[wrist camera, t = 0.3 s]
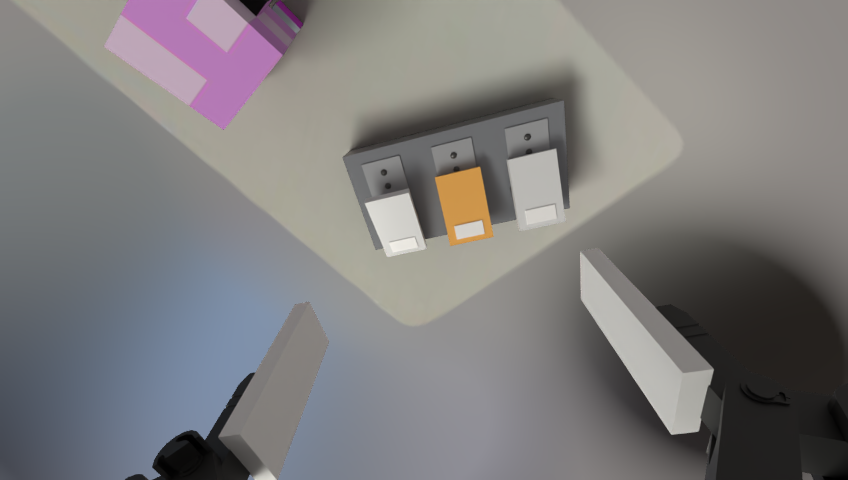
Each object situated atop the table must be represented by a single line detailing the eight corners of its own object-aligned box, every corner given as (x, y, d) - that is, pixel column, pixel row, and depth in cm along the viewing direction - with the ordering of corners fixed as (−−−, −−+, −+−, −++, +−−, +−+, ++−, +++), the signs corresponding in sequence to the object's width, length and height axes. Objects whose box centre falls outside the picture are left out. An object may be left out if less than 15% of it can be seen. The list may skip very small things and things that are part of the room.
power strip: (349, 150, 39) (340, 158, 35) (552, 98, 36) (566, 100, 32) (379, 237, 44) (374, 252, 40) (559, 198, 41) (571, 210, 37)
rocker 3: (506, 159, 35) (508, 160, 34) (553, 148, 35) (556, 148, 33) (518, 229, 37) (520, 231, 36) (562, 219, 37) (566, 221, 36)
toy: (239, -69, 29) (170, -80, 18) (313, 11, 34) (294, 41, 23) (181, 23, 33) (95, 61, 22) (255, 84, 38) (215, 140, 27)
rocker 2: (435, 176, 36) (434, 177, 35) (479, 166, 36) (480, 166, 34) (450, 243, 38) (450, 246, 37) (492, 234, 38) (493, 237, 37)
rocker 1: (365, 198, 36) (364, 203, 35) (408, 188, 35) (408, 193, 34) (387, 252, 41) (387, 257, 40) (426, 243, 40) (426, 249, 39)
